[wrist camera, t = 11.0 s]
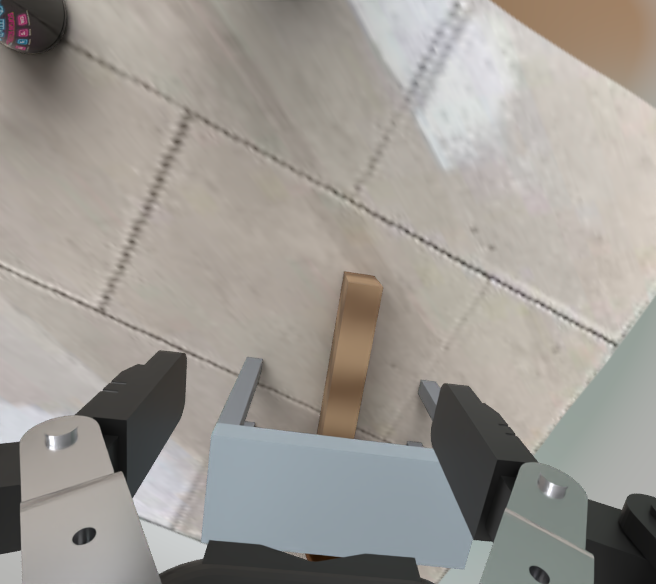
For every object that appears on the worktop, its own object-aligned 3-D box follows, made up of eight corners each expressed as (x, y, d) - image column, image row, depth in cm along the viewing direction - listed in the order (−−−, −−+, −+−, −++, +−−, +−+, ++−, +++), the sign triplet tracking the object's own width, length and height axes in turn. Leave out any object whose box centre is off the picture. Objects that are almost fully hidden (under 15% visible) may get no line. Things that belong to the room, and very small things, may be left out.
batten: (344, 271, 37) (348, 282, 32) (373, 275, 38) (383, 287, 32) (315, 439, 42) (315, 474, 36) (342, 442, 42) (346, 477, 36)
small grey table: (247, 356, 39) (211, 435, 26) (435, 381, 40) (493, 468, 27) (238, 433, 41) (201, 542, 28) (418, 455, 42) (464, 569, 29)
